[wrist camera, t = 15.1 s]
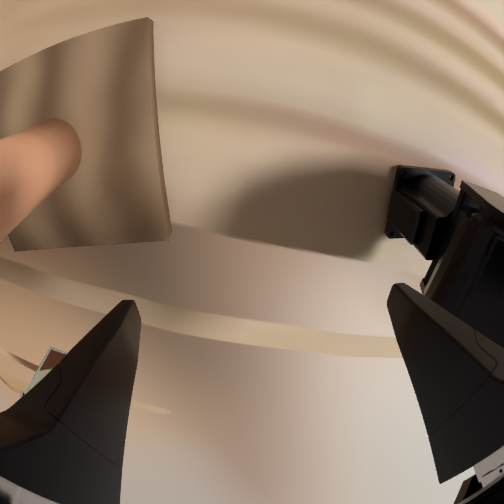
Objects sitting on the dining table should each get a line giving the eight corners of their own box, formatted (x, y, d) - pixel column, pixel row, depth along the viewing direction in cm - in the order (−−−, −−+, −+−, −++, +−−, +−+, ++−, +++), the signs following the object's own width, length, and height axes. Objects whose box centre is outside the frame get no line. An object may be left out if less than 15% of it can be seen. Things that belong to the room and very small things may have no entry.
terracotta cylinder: (63, 105, 14) (-41, 145, 6) (92, 164, 17) (8, 239, 9) (20, 141, 15) (-72, 198, 7) (48, 194, 18) (-30, 272, 10)
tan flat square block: (153, 21, 14) (147, 17, 12) (171, 230, 22) (168, 240, 21) (-13, 83, 13) (-23, 85, 11) (22, 242, 21) (14, 251, 20)
